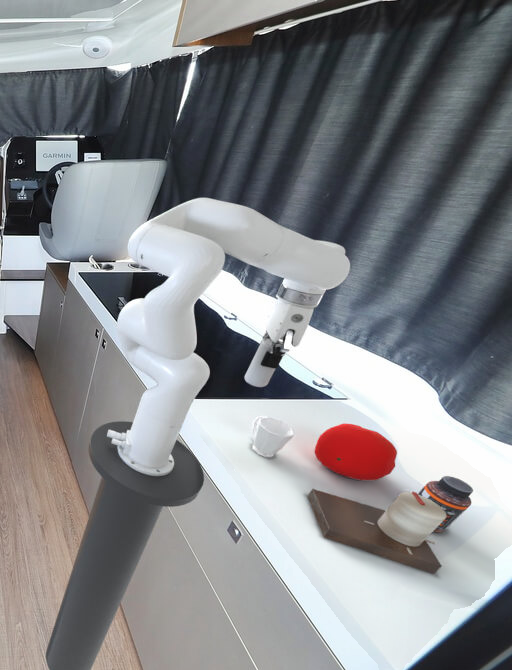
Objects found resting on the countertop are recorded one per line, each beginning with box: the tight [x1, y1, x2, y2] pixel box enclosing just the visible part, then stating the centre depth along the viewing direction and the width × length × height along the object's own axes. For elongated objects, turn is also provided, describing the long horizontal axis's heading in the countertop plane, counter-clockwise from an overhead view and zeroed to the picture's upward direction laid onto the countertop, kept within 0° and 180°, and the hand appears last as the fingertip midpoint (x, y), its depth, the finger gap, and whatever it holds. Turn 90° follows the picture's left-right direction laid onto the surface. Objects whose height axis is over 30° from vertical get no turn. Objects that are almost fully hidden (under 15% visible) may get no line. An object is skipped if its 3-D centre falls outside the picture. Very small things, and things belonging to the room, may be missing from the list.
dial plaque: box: [307, 488, 443, 575], centre depth 84 cm, size 17×11×3 cm, turn 63°
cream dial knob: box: [378, 491, 446, 547], centre depth 80 cm, size 6×6×8 cm
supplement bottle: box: [417, 475, 474, 533], centre depth 84 cm, size 6×6×11 cm
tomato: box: [314, 423, 398, 481], centre depth 96 cm, size 13×13×13 cm
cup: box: [251, 415, 295, 458], centre depth 103 cm, size 7×10×8 cm
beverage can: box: [244, 338, 282, 388], centre depth 104 cm, size 5×5×12 cm
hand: (265, 360), depth 104 cm, fingers closed on beverage can, 4 cm apart
